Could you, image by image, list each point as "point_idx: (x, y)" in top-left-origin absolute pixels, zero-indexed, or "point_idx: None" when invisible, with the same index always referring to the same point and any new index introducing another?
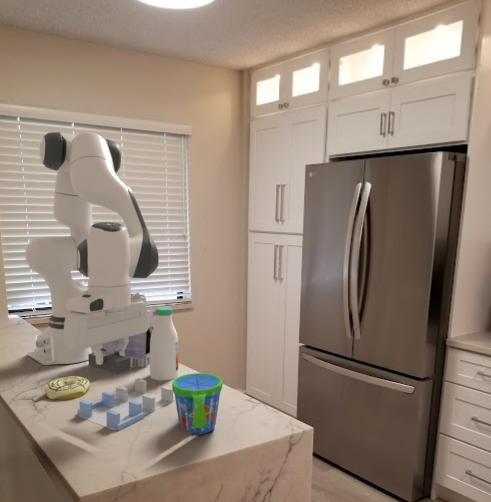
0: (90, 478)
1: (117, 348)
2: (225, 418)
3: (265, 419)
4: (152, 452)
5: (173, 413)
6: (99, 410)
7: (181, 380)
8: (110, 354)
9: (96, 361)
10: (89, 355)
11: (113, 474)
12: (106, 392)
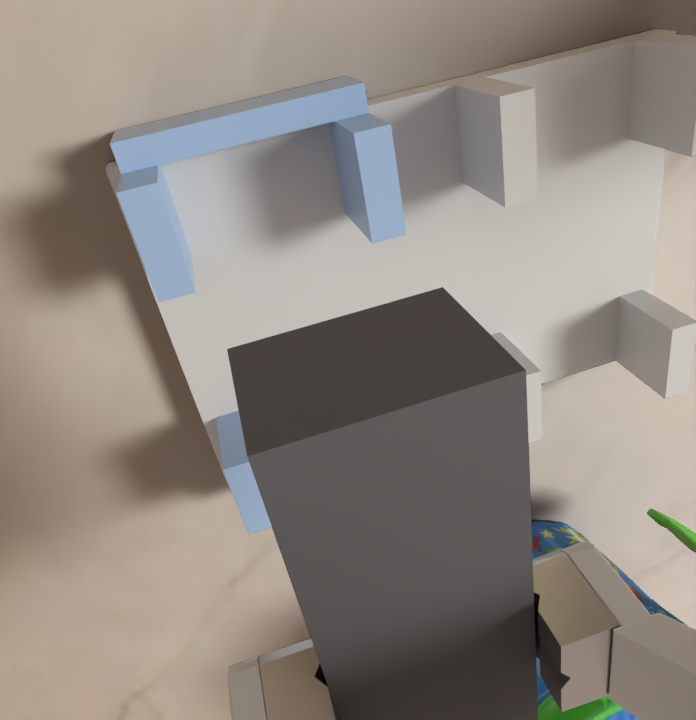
0: (12, 691)
1: (623, 642)
2: (631, 554)
3: (690, 612)
4: (282, 638)
5: (553, 419)
6: (270, 193)
7: (619, 715)
8: (483, 613)
9: (233, 690)
10: (252, 462)
11: (99, 697)
12: (380, 157)
